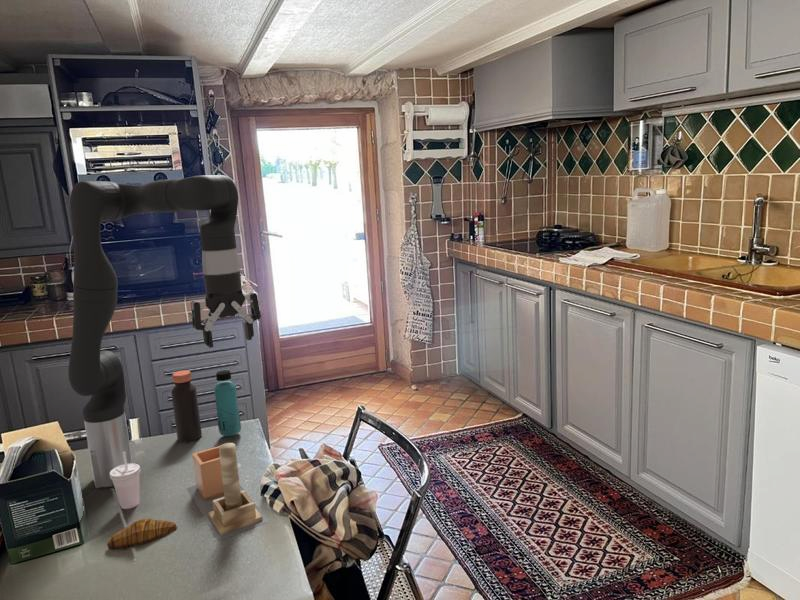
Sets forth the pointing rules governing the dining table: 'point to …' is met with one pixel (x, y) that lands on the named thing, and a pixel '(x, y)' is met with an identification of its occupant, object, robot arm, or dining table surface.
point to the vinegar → (185, 407)
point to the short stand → (234, 514)
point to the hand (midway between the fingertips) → (229, 343)
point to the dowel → (230, 476)
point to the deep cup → (208, 473)
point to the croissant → (140, 533)
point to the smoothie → (126, 483)
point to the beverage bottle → (227, 404)
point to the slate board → (207, 507)
